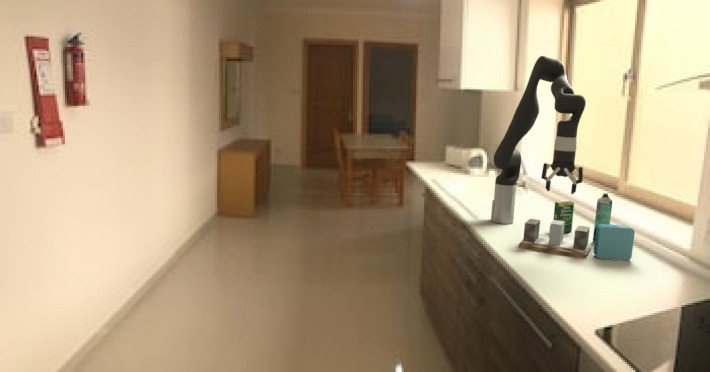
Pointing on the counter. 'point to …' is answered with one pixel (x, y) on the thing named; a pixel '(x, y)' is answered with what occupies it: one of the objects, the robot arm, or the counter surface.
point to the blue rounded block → (614, 242)
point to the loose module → (556, 232)
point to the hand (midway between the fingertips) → (560, 192)
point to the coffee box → (564, 214)
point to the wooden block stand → (566, 248)
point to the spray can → (602, 212)
